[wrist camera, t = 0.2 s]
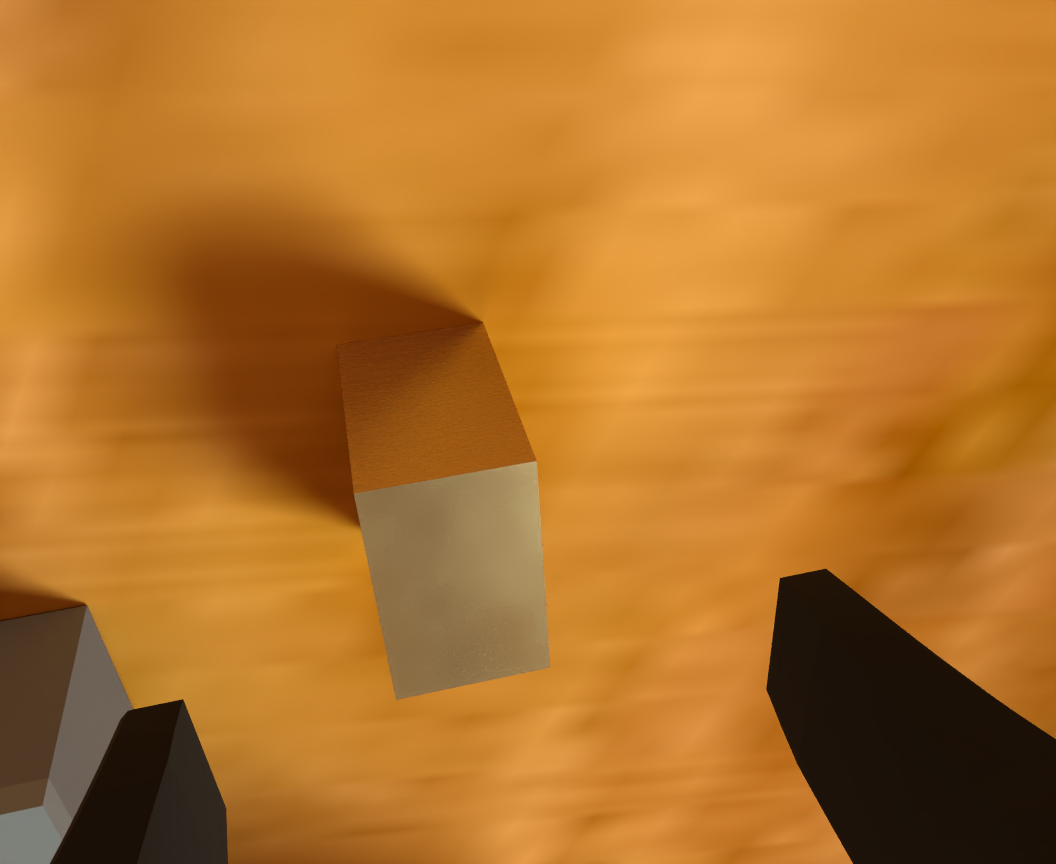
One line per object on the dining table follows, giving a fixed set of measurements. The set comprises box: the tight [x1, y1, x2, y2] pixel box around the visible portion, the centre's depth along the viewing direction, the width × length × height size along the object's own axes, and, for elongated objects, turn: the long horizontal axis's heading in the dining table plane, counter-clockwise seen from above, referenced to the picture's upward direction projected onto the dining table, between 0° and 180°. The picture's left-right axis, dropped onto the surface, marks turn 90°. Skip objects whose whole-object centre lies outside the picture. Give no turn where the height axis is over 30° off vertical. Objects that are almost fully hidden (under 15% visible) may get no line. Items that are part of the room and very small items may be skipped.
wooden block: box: [337, 322, 550, 700], centre depth 19 cm, size 5×3×5 cm, turn 4°
